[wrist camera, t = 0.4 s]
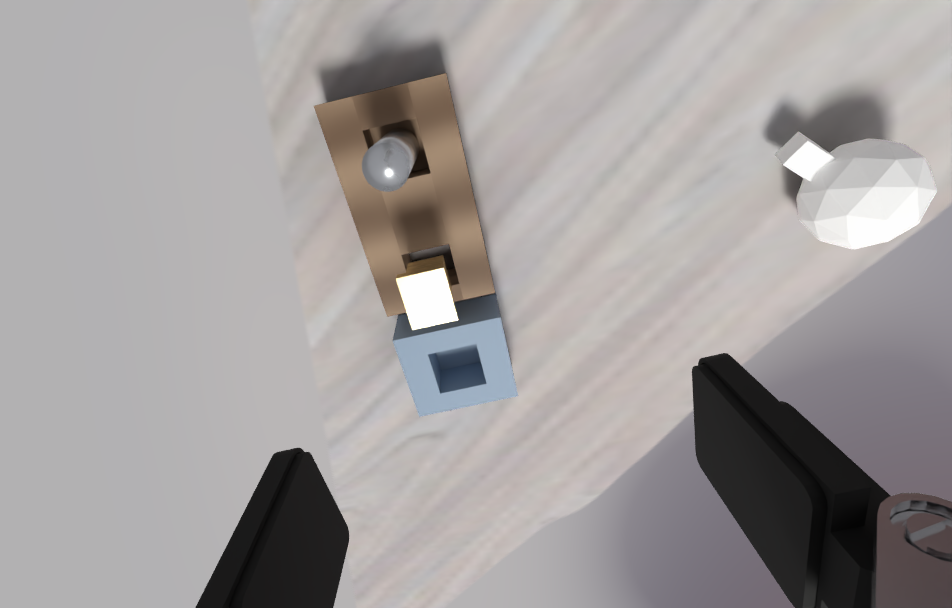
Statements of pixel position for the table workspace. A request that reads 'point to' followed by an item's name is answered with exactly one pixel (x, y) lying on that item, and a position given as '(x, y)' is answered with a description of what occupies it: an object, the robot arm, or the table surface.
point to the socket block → (409, 186)
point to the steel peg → (390, 160)
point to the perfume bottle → (859, 189)
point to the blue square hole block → (457, 358)
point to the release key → (427, 293)
